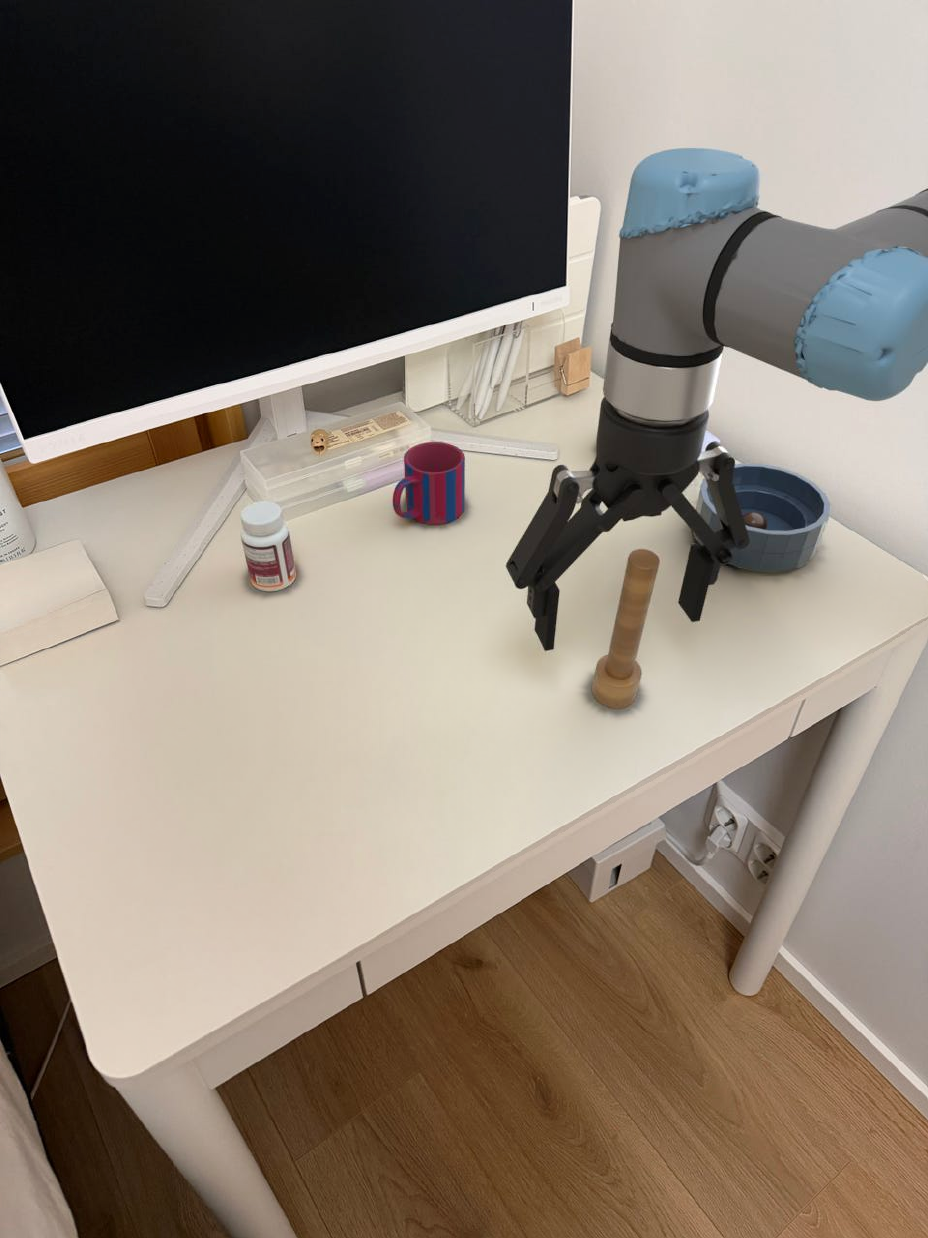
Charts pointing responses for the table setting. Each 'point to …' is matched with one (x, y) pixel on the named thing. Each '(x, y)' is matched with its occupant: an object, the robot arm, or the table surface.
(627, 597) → the muddler
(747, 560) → the bowl
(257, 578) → the pill bottle
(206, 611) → the table surface
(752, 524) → the bead
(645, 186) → the robot arm
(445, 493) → the mug
